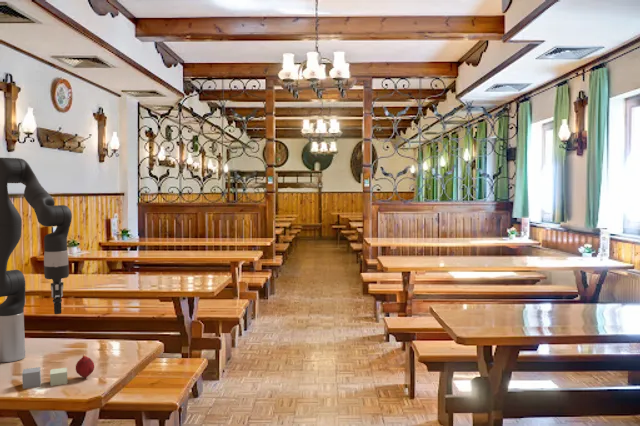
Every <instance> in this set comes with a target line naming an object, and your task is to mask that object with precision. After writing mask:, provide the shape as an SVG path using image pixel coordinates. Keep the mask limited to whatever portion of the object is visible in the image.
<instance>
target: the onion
mask: <svg viewBox="0 0 640 426" xmlns="http://www.w3.org/2000/svg"><path fill="white" fill-rule="evenodd" d="M94 370H95V363H94V360H92V359H91V358H90V357H88V356H87V355H86V354H83V355H82V357H81V358H80V359H79V360H78V361H77V362H76V364H75V372H76V373H77V375H79V376H80V377H82V378H83V379H86V378H88V377H89V376H91V374H92V373H93V372H94Z"/></svg>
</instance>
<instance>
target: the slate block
mask: <svg viewBox="0 0 640 426" xmlns="http://www.w3.org/2000/svg"><path fill="white" fill-rule="evenodd" d="M21 376H22V389H23V390H25V389H31V388H39V387H41V383H42V372H41V366H37V367H29V368H23V369H22V373H21Z"/></svg>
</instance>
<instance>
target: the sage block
mask: <svg viewBox="0 0 640 426" xmlns="http://www.w3.org/2000/svg"><path fill="white" fill-rule="evenodd" d="M49 383H50V387H52V386H53V387H54V386H59V385H66V384H68V367H60V368H51V369H50V372H49Z"/></svg>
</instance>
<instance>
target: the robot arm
mask: <svg viewBox="0 0 640 426" xmlns="http://www.w3.org/2000/svg"><path fill="white" fill-rule="evenodd" d="M8 184H22V185H24V186H25V187H24V192H23V195H24V199H25V200H26V202H27V204H28V205H29V206H30V207H32V209H33V211H34V214H35V216H36V218H37V219H36V220H37V222H38V224H40V225H41V226H43V227H56V228H55V229H54V231H53V232H50V233H47V234H46V235H44V239H43V244H44V246H43V247H44V249H43V250H44V255H43V268H44V270H43V272H44V278H45V279H46V280H52V282H51V283H50V290H51V298H52V302H53V314H54V315H61V314H62V302H63V299H62V297H63V296H64V293H63V292H64V282H62V280H63V279H66V278H69V276H70V274H69V273H70V271H69V267H70V266H69V254H68V236H69V235H68V234H69V231H70V226H71V223H72V220H73V214H72V211H71V209H70V207H68V205H65V204H62V205H61V204H58V205H55V200H54V198H53V197H52V195H51V194H50V193H49V192H47V191H48V190H47V191H46V189H45V188H44V187H43V186H42V184H41V183H40V181H39V180H38V178H37V175H36V174H35V172H34V171H33V169H32V168H31V166H30V164H29V163H28V162H27V160H25V159H23V158H19V157H18V158H17V157H0V298H3V297H6V299H5V300H4V301H2V302H1V303H0V363H9V362H11V363H13V362H16V361H20V360H23V359H25V358H26V339H25V312H24V309H25V304H26V280H25V276H24V274H23V272H22V271H21V270H19V269H9V270H7V268H8V267H7V266H8V262H9V259H10V257H11V255H12V253H13V252H14V250H15V248H16V247H17V245H18V244H19V242H20V240H21V238H22V226H23V224H22V223H23V222H22V216H21V214H20V213H19V211H18V210H17V208H16V207H15V204H14V203H13V202H12V200H11V198H10V195H9V192H8Z"/></svg>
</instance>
